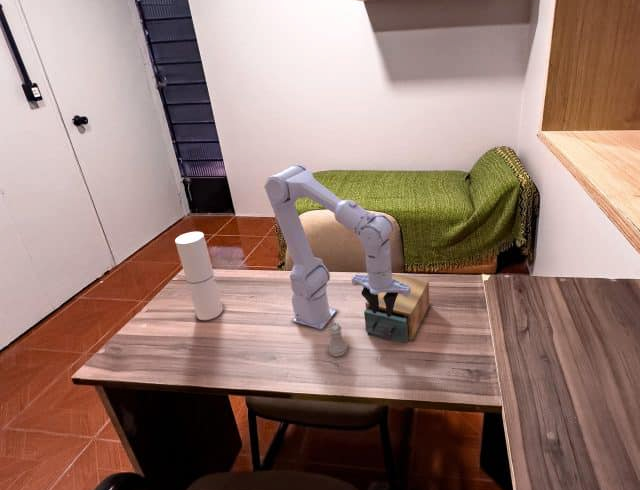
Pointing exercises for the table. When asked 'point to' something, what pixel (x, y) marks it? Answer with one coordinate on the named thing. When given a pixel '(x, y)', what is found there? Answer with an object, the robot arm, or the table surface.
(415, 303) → the cabinet
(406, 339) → the drawer
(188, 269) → the cylindrical container
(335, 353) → the chess piece
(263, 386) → the table surface
